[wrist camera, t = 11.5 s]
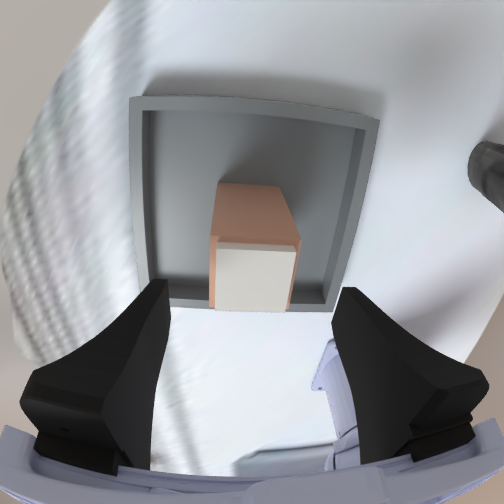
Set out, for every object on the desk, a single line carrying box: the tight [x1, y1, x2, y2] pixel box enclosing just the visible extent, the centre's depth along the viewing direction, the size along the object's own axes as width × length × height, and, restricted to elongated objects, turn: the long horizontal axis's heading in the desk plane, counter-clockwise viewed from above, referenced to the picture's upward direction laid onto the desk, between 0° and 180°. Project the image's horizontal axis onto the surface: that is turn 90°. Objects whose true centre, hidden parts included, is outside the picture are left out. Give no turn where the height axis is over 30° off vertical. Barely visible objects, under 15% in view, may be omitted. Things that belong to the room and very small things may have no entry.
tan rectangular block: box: [209, 183, 302, 313], centre depth 18 cm, size 4×4×8 cm
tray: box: [129, 95, 380, 312], centre depth 21 cm, size 15×15×2 cm
